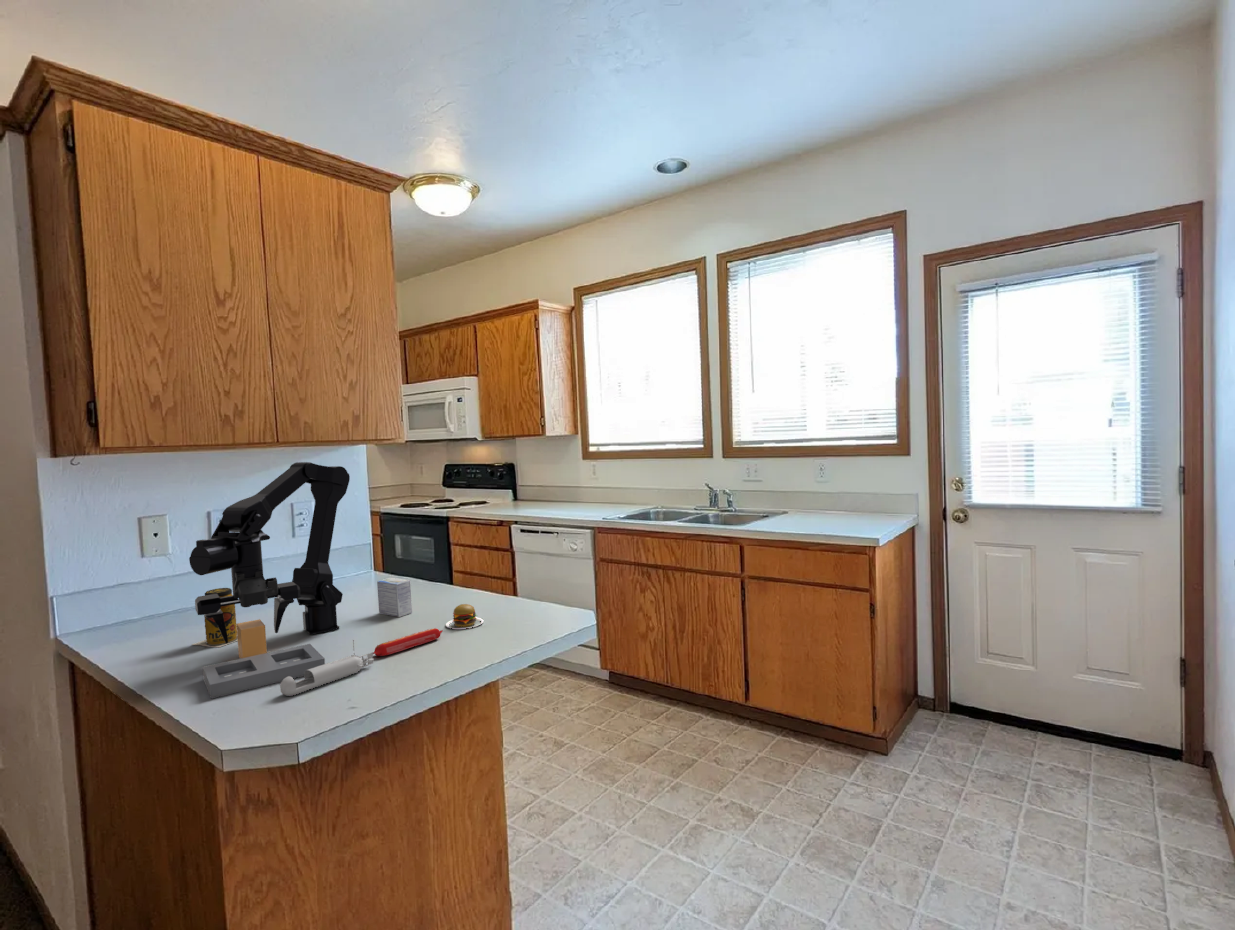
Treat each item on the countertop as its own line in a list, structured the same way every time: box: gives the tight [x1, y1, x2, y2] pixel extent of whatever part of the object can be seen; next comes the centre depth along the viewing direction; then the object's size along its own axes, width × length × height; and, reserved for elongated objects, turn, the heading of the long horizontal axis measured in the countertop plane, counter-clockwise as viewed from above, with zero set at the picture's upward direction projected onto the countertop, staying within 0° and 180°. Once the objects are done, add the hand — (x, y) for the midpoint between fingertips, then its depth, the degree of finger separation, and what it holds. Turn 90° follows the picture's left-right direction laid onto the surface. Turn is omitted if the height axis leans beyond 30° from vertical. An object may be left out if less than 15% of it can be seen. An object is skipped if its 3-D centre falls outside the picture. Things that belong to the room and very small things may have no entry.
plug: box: [236, 618, 268, 659], centre depth 136 cm, size 4×9×7 cm, turn 38°
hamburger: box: [445, 603, 485, 630], centre depth 153 cm, size 12×12×6 cm
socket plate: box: [202, 643, 326, 699], centre depth 124 cm, size 19×12×2 cm, turn 128°
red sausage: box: [373, 627, 443, 657], centre depth 138 cm, size 16×4×3 cm, turn 141°
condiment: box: [191, 587, 238, 648], centre depth 146 cm, size 7×8×12 cm
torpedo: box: [279, 639, 375, 697], centre depth 120 cm, size 18×5×6 cm, turn 145°
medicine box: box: [377, 577, 413, 618], centre depth 164 cm, size 8×4×9 cm, turn 57°
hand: (251, 637), depth 135 cm, fingers open, 9 cm apart
